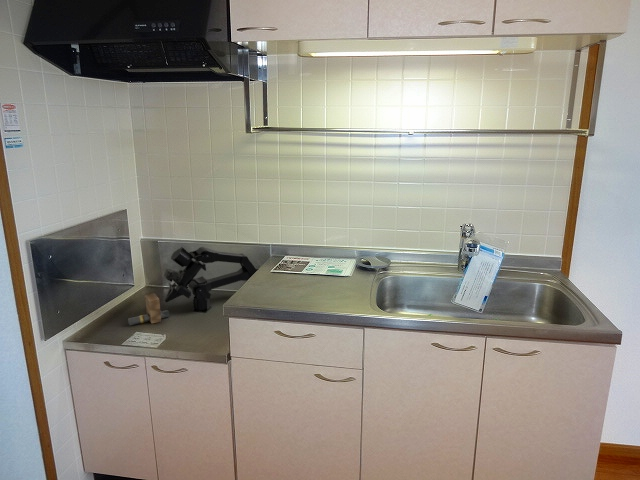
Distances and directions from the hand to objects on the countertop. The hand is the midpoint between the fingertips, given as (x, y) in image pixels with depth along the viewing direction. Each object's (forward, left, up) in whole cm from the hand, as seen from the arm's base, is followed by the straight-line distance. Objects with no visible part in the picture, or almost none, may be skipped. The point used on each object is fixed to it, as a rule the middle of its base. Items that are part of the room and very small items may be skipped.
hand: (165, 301), depth 201 cm
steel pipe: (+5, +5, -7) cm, 10 cm away
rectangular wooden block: (+4, +4, -7) cm, 9 cm away
